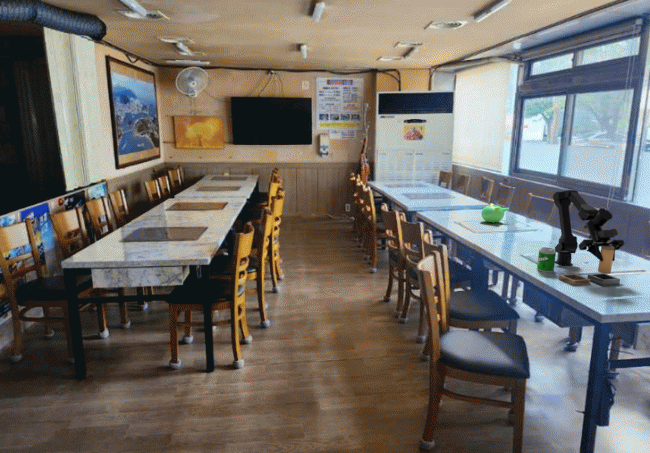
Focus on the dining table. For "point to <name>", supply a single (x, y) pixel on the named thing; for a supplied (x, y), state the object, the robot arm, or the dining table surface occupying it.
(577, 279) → the stand
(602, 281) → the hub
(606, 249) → the wooden dowel rod
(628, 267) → the dining table surface
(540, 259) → the soda can
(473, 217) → the dining table surface
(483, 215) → the toy bird
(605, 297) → the dining table surface
